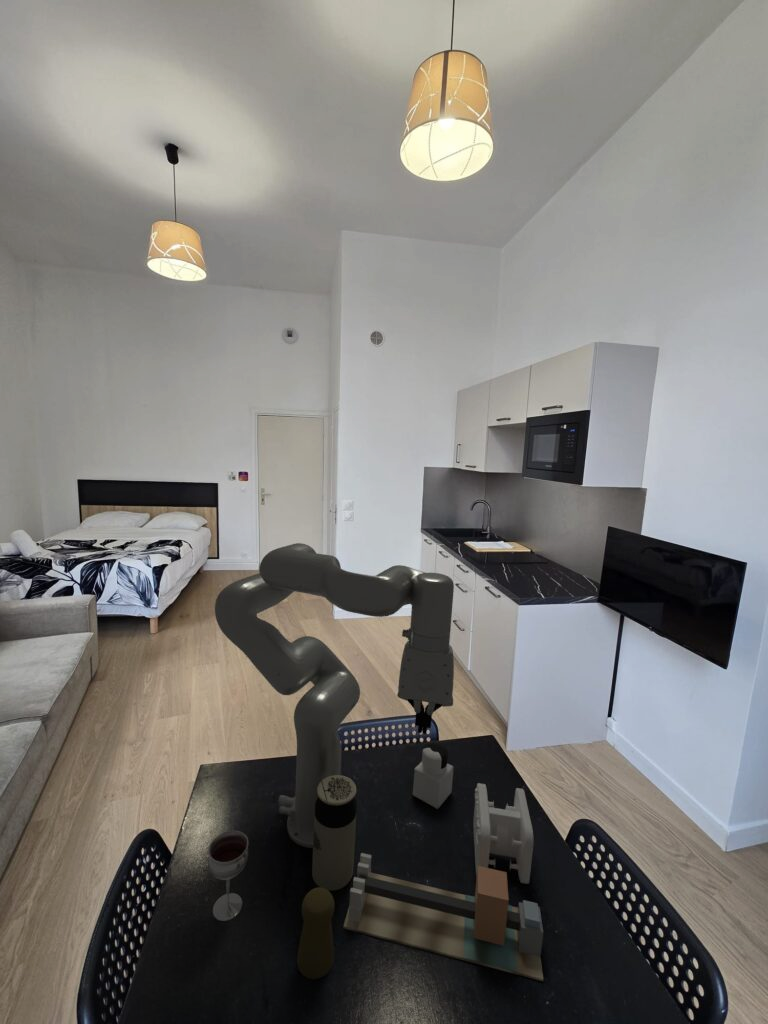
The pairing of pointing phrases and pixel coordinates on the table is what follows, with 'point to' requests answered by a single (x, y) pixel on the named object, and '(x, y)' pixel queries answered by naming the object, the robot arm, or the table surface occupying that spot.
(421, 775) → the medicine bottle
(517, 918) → the dark grey bar
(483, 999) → the table surface
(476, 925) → the brown rectangular block
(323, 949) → the yellow peg figure
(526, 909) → the connector
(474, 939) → the board
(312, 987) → the table surface
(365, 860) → the cable comb
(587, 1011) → the table surface
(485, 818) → the cable organizer
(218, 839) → the wineglass
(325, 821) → the travel mug
